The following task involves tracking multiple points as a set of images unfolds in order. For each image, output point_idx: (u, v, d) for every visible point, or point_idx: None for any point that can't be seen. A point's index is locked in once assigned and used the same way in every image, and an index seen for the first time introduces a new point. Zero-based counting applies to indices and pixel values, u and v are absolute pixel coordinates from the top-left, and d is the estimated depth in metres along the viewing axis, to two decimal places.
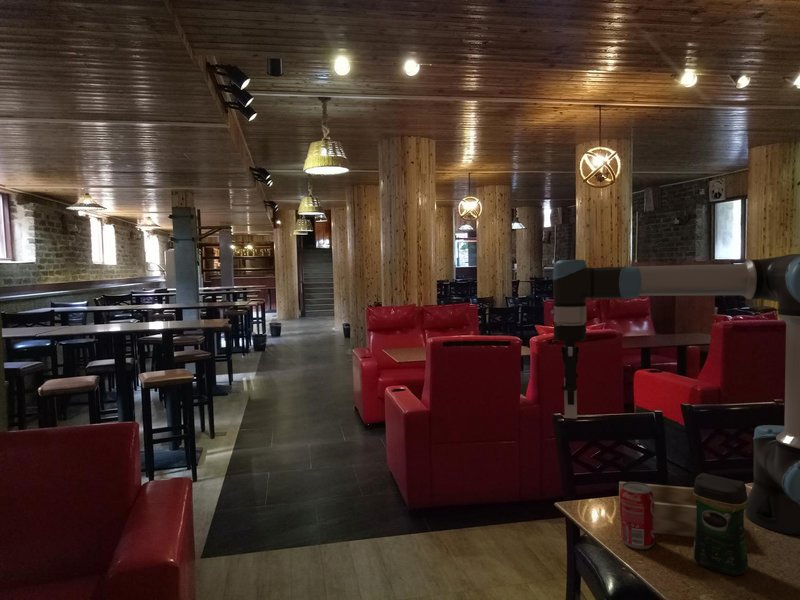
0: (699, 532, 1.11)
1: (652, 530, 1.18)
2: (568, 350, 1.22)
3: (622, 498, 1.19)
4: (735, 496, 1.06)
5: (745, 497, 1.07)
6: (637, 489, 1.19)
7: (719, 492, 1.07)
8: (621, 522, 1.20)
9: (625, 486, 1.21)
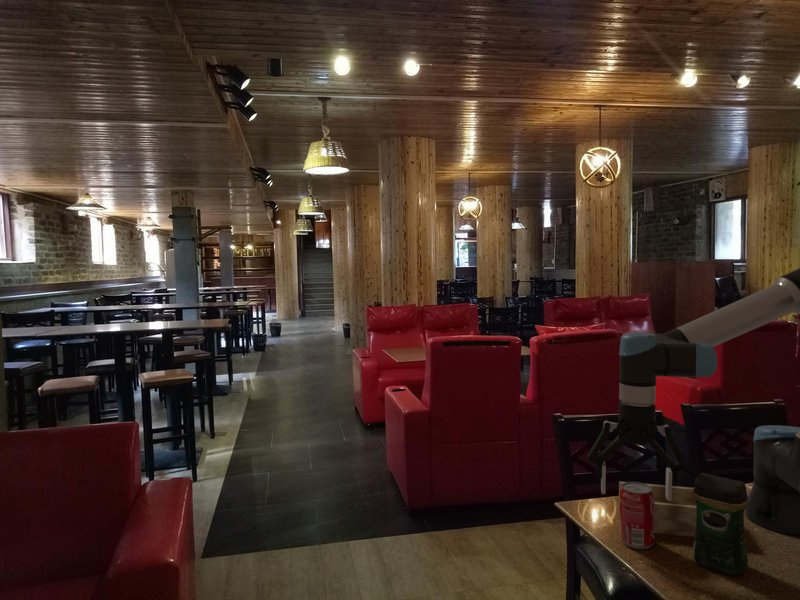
0: (699, 532, 1.11)
1: (652, 530, 1.18)
2: (604, 423, 1.22)
3: (622, 498, 1.19)
4: (735, 496, 1.06)
5: (745, 497, 1.07)
6: (637, 489, 1.19)
7: (719, 492, 1.07)
8: (621, 522, 1.20)
9: (625, 486, 1.21)
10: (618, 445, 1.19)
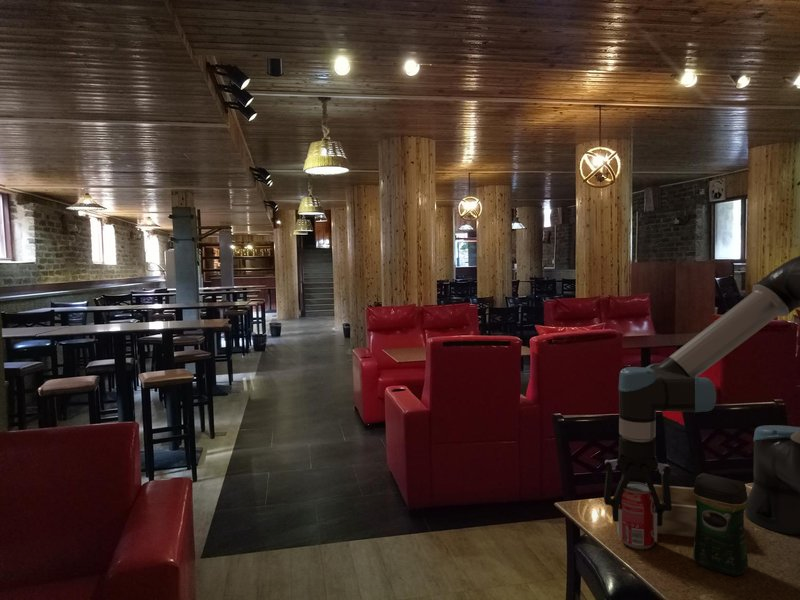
0: (699, 532, 1.11)
1: (652, 530, 1.18)
2: (605, 463, 1.22)
3: (622, 498, 1.19)
4: (735, 496, 1.06)
5: (745, 497, 1.07)
6: (637, 489, 1.19)
7: (719, 492, 1.07)
8: None
9: None
10: (625, 483, 1.19)
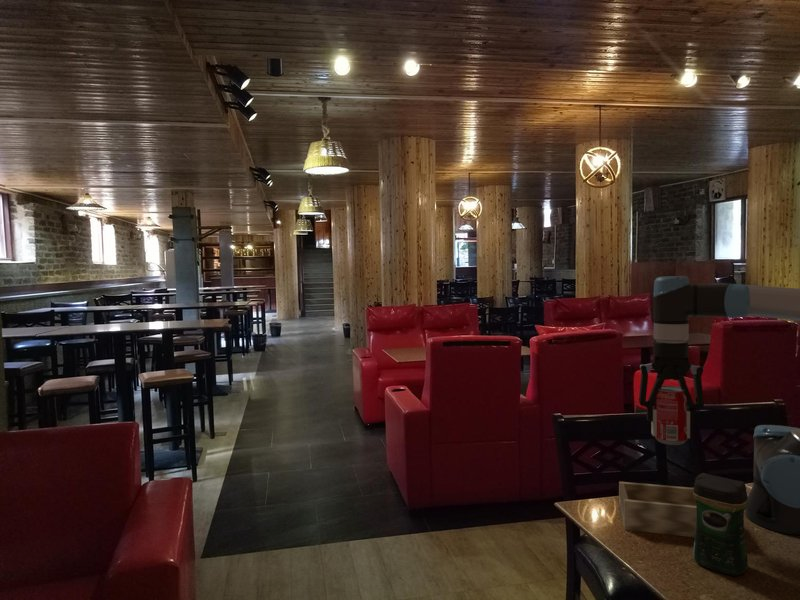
0: (699, 532, 1.11)
1: (685, 427, 1.25)
2: (640, 368, 1.30)
3: (657, 398, 1.27)
4: (735, 496, 1.06)
5: (745, 497, 1.07)
6: (671, 390, 1.27)
7: (719, 492, 1.07)
8: None
9: None
10: (660, 384, 1.27)
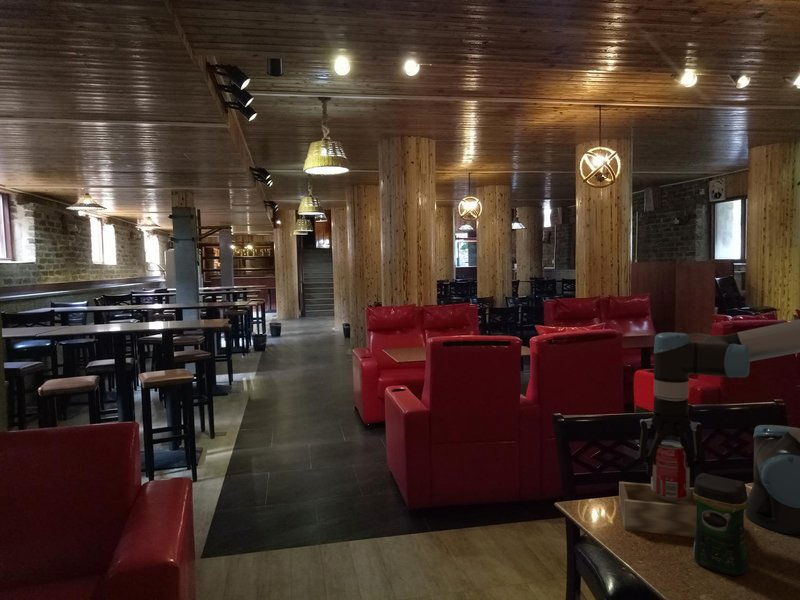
0: (699, 532, 1.11)
1: (685, 483, 1.26)
2: (640, 423, 1.30)
3: (656, 454, 1.28)
4: (735, 496, 1.06)
5: (745, 497, 1.07)
6: (670, 446, 1.28)
7: (719, 492, 1.07)
8: None
9: None
10: (660, 440, 1.28)
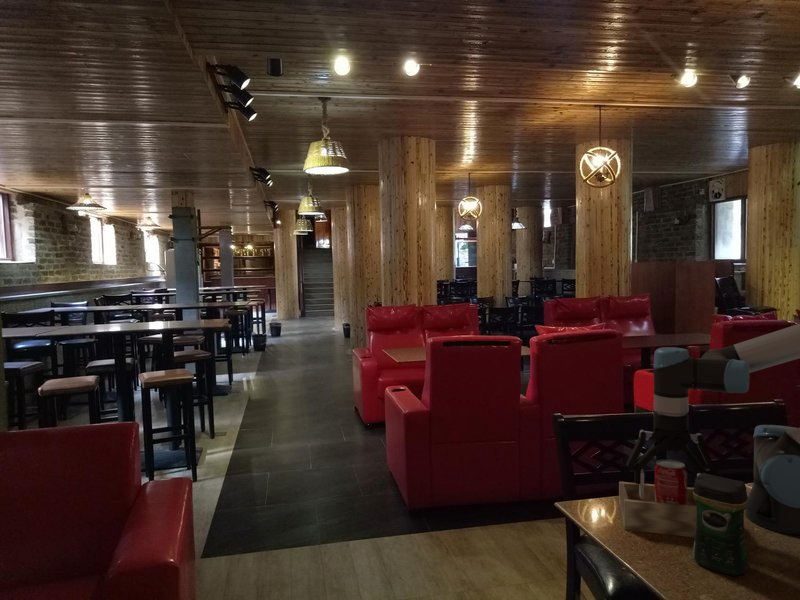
0: (699, 532, 1.11)
1: (685, 503, 1.27)
2: (639, 432, 1.31)
3: (657, 473, 1.29)
4: (735, 496, 1.06)
5: (745, 497, 1.07)
6: (671, 465, 1.29)
7: (719, 492, 1.07)
8: (656, 496, 1.29)
9: (659, 463, 1.31)
10: (654, 452, 1.28)
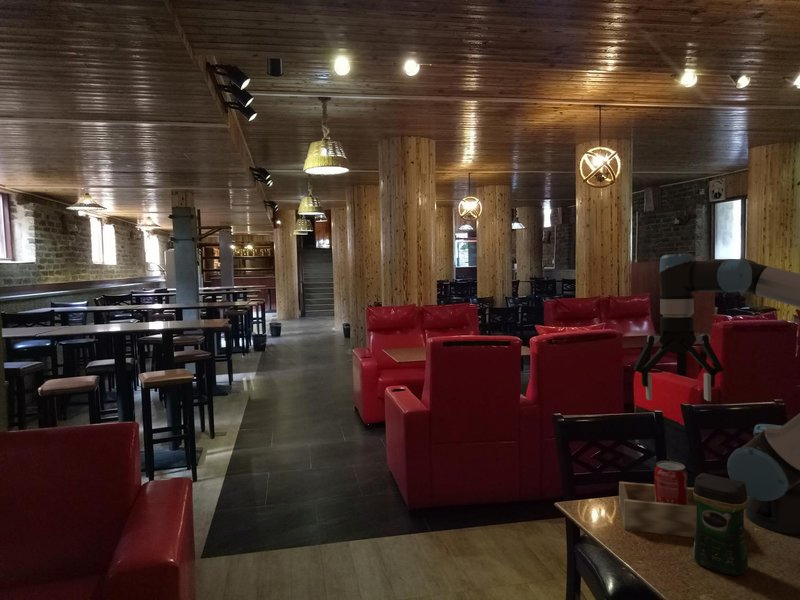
0: (699, 532, 1.11)
1: None
2: (647, 337, 1.35)
3: (657, 475, 1.28)
4: (735, 496, 1.06)
5: (745, 497, 1.07)
6: (671, 467, 1.28)
7: (719, 492, 1.07)
8: (656, 498, 1.29)
9: (659, 464, 1.30)
10: (662, 355, 1.33)
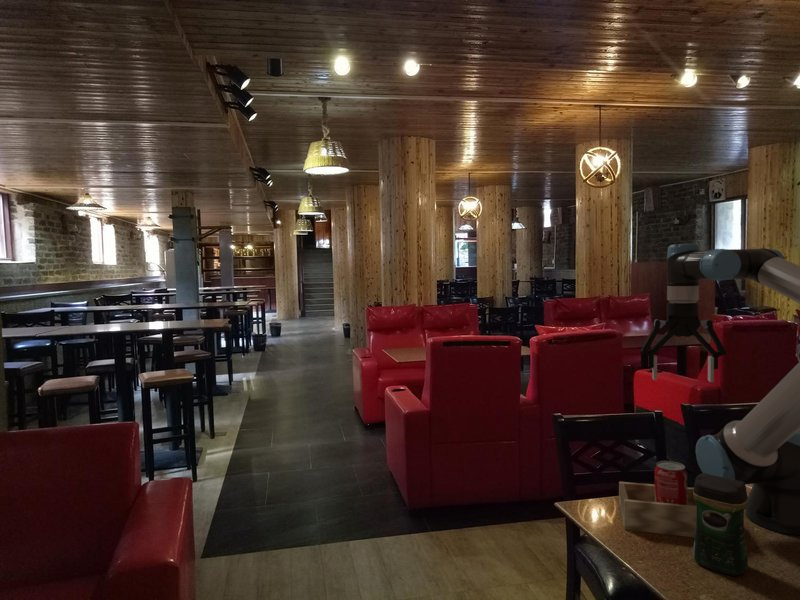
0: (699, 532, 1.11)
1: None
2: (654, 322, 1.45)
3: (657, 475, 1.28)
4: (735, 496, 1.06)
5: (745, 497, 1.07)
6: (671, 467, 1.28)
7: (719, 492, 1.07)
8: (656, 498, 1.29)
9: (659, 464, 1.30)
10: (667, 338, 1.43)
